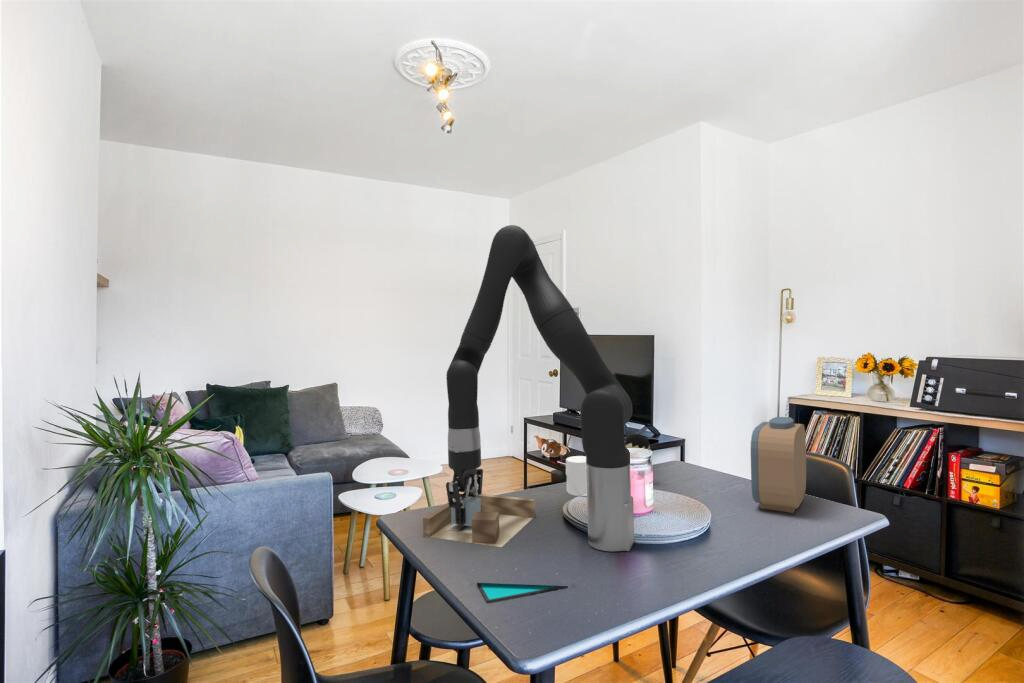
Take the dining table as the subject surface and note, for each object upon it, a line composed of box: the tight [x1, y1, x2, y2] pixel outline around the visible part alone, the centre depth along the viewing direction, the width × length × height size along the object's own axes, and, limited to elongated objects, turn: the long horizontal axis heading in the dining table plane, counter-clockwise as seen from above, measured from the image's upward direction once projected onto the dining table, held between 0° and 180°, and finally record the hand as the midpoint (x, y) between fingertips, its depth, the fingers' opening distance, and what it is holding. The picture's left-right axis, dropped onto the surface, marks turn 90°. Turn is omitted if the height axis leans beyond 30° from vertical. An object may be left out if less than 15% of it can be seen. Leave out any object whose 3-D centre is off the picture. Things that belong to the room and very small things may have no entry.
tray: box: [422, 493, 536, 548], centre depth 123 cm, size 19×20×5 cm
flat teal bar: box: [476, 582, 569, 604], centre depth 95 cm, size 7×1×15 cm
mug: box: [565, 455, 587, 497], centre depth 149 cm, size 12×9×8 cm
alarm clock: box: [750, 416, 807, 514], centre depth 135 cm, size 21×10×22 cm, turn 144°
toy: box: [625, 433, 653, 465], centre depth 155 cm, size 9×7×15 cm
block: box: [451, 497, 481, 526], centre depth 122 cm, size 5×5×5 cm
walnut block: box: [471, 512, 499, 544], centre depth 114 cm, size 5×5×5 cm
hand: (466, 519), depth 122 cm, fingers open, 5 cm apart
